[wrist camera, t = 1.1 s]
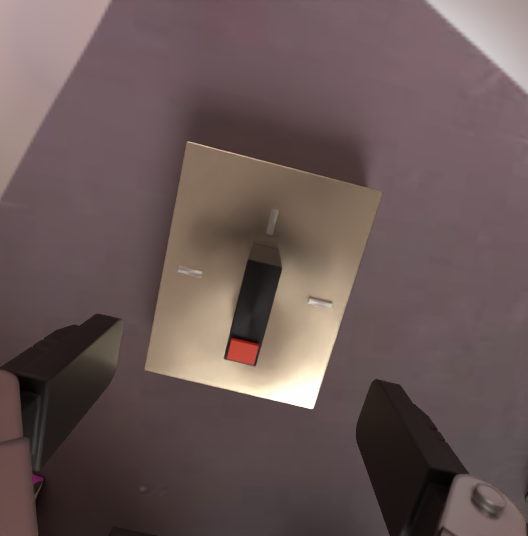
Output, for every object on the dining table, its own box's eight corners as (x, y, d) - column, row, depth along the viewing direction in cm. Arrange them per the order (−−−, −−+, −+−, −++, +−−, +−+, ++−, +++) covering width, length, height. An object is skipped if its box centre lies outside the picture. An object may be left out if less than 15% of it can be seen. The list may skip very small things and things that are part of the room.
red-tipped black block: (252, 242, 20) (247, 259, 15) (279, 249, 20) (283, 268, 15) (232, 323, 21) (222, 362, 16) (258, 329, 21) (255, 370, 16)
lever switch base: (197, 146, 21) (185, 139, 18) (368, 191, 22) (384, 191, 19) (158, 348, 24) (142, 372, 21) (308, 383, 25) (313, 411, 22)
